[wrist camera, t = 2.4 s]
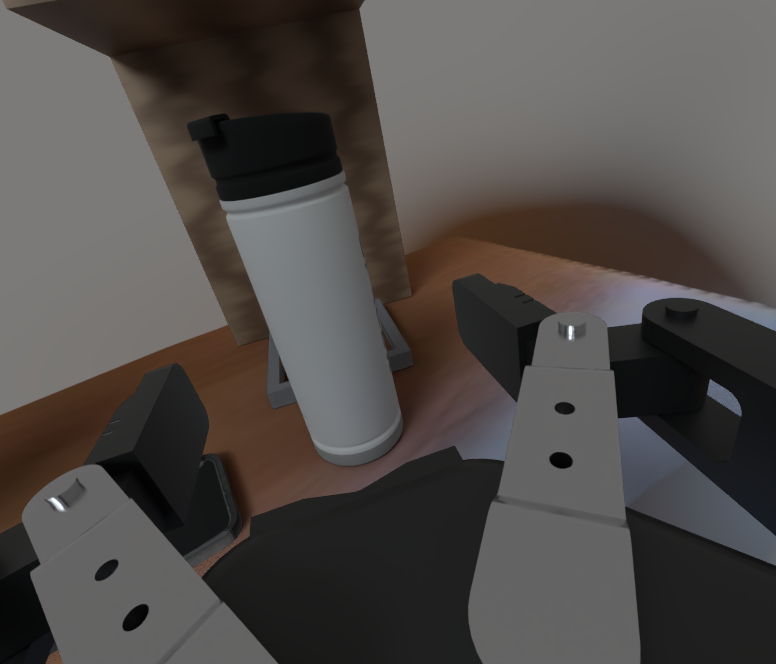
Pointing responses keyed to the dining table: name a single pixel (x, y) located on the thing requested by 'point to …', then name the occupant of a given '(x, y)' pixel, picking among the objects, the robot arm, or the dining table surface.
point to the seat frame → (281, 390)
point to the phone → (206, 516)
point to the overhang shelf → (244, 111)
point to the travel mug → (307, 273)
